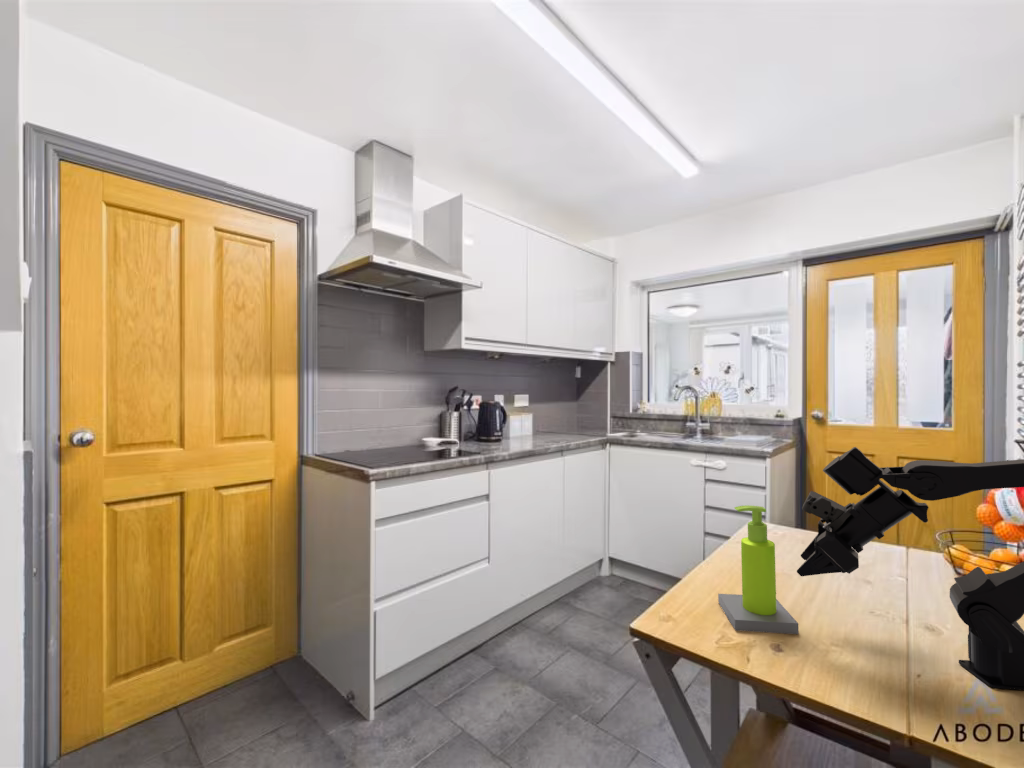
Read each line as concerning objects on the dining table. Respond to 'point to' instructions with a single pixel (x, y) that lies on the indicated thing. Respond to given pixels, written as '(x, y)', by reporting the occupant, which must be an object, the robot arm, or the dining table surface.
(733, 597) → the slate stand
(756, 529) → the soap dispenser
